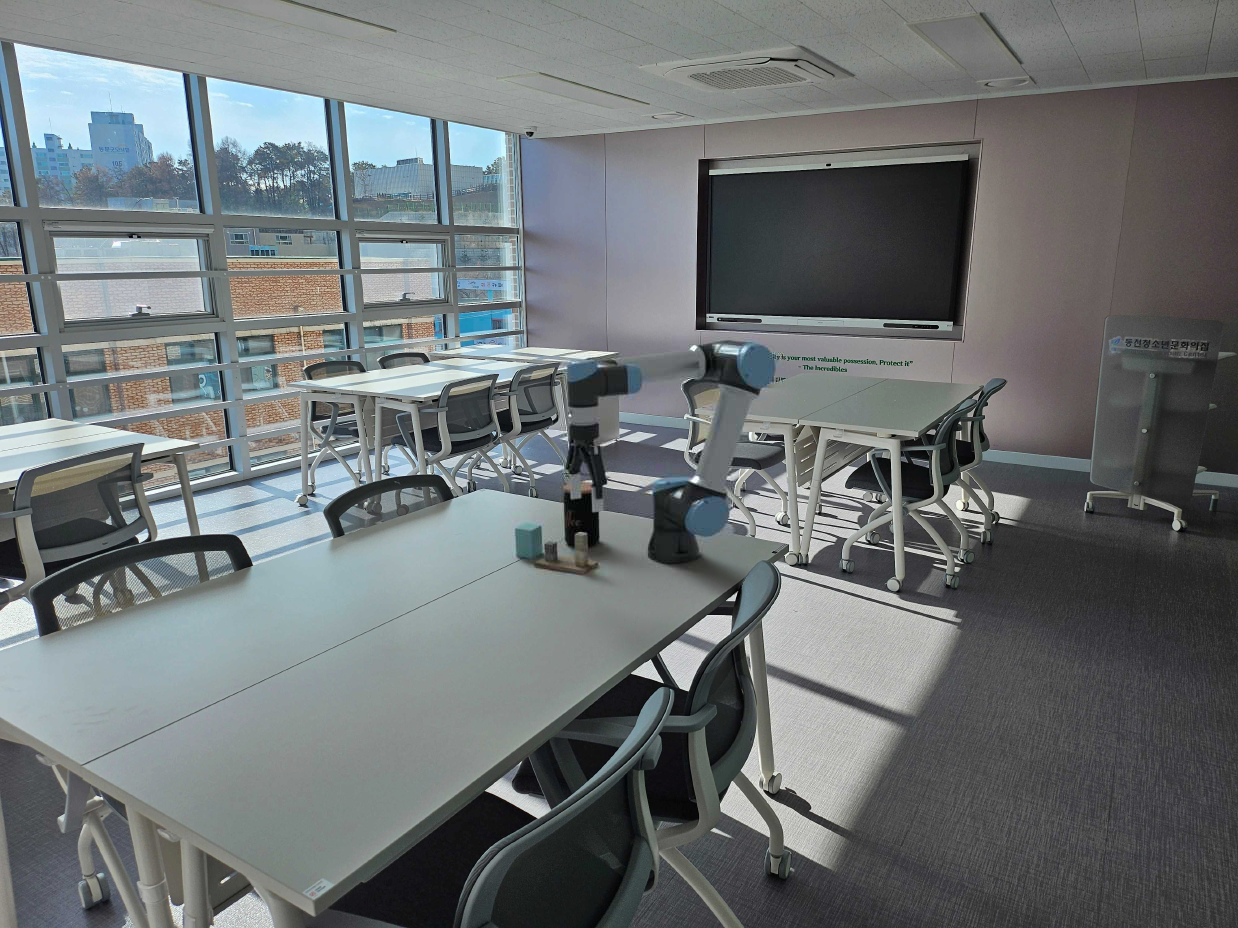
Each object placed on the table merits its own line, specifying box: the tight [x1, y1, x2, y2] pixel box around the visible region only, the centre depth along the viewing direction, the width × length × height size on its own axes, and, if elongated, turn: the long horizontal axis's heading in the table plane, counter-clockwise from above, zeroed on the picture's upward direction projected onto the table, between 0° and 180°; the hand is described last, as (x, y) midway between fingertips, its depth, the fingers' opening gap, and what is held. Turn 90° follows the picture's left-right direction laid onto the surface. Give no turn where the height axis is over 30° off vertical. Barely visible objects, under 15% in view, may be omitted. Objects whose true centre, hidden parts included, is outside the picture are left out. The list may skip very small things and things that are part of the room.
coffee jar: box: [562, 481, 601, 548], centre depth 254 cm, size 11×11×18 cm
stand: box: [534, 532, 599, 575], centre depth 235 cm, size 8×16×10 cm, turn 63°
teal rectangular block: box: [514, 522, 543, 560], centre depth 246 cm, size 6×6×9 cm
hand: (586, 504), depth 212 cm, fingers open, 13 cm apart
